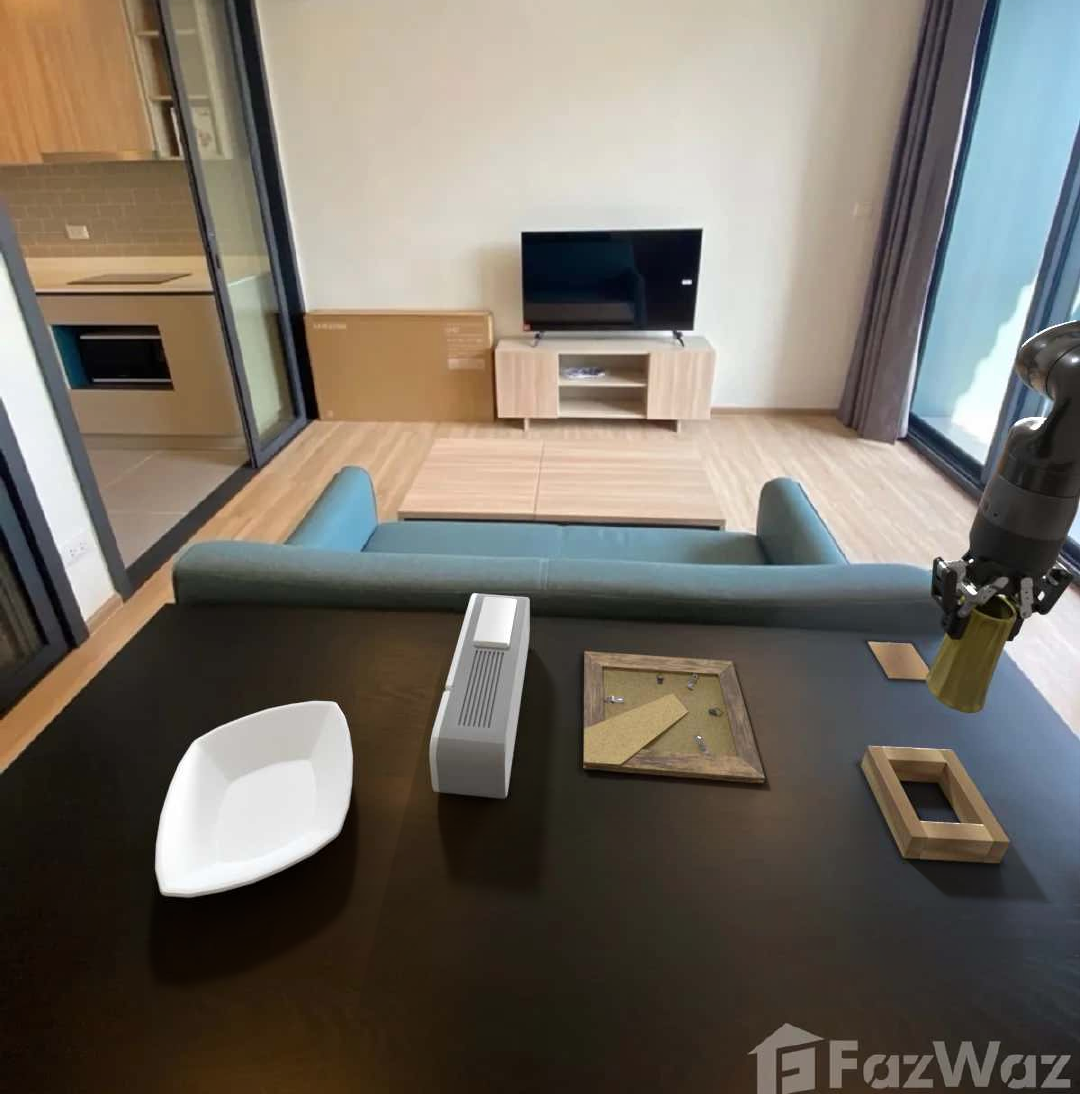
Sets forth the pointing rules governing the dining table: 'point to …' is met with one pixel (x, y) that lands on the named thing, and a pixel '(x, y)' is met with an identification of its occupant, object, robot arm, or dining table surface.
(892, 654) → the coaster
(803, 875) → the dining table surface
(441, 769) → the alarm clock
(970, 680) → the vase
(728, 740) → the picture frame
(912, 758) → the holder
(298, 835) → the bowl
